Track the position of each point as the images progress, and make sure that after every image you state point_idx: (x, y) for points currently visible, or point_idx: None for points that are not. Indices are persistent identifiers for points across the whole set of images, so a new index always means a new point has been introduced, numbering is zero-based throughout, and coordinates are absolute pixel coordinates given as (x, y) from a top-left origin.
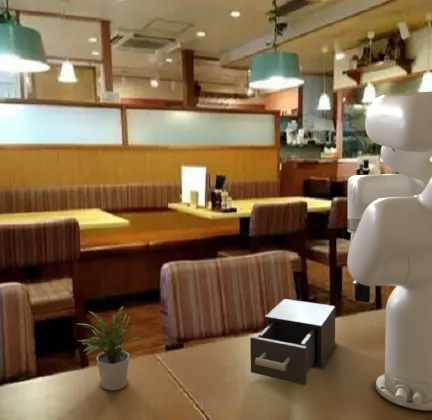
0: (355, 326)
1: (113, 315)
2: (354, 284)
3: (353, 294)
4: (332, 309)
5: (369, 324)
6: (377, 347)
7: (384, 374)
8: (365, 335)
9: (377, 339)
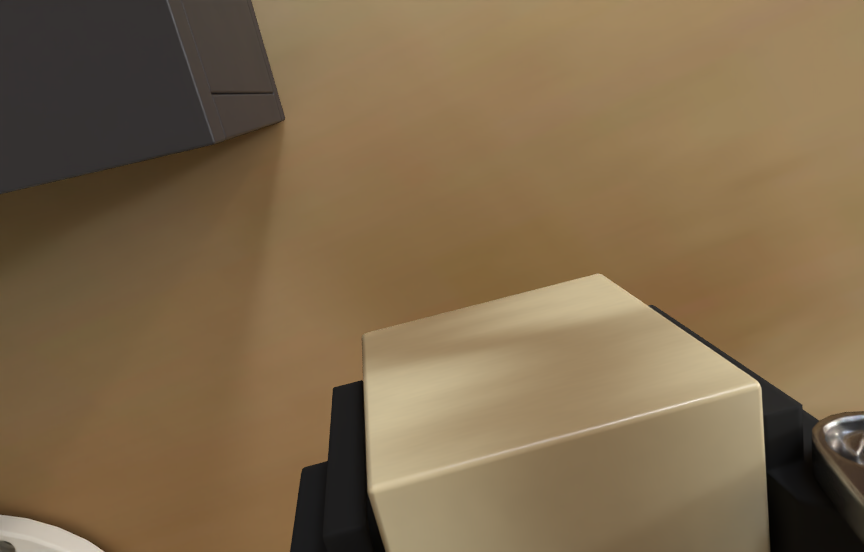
0: (699, 96)
1: None
2: (370, 500)
3: (366, 380)
4: (60, 173)
5: (787, 159)
6: None
7: (17, 538)
8: (569, 216)
9: None
